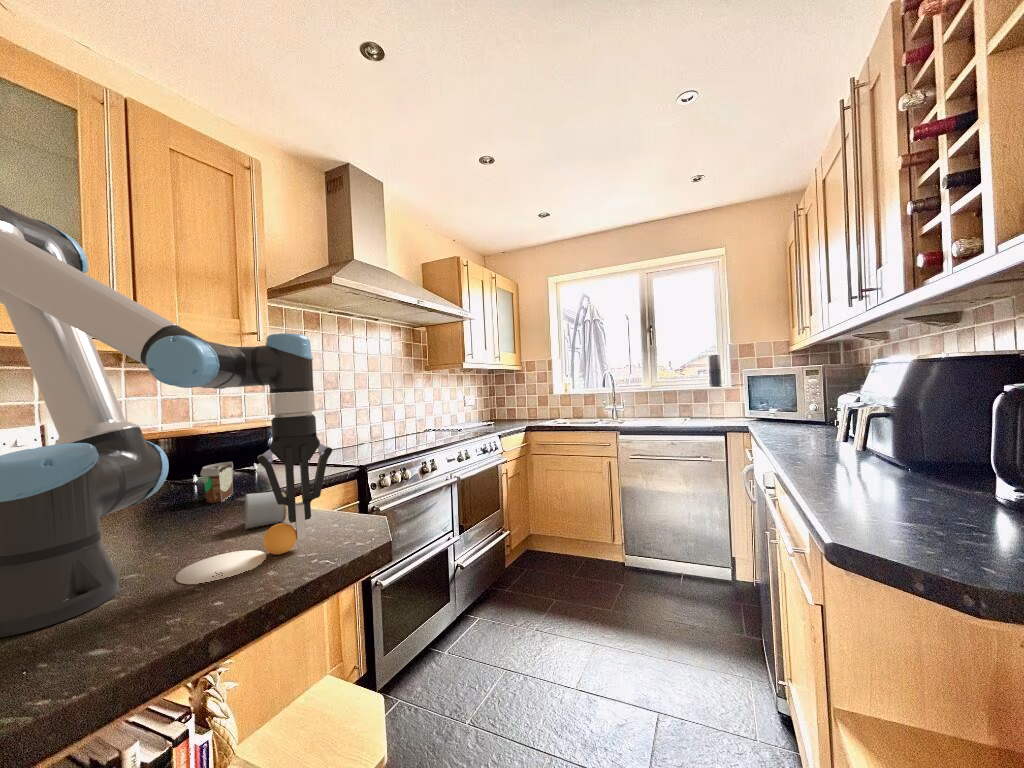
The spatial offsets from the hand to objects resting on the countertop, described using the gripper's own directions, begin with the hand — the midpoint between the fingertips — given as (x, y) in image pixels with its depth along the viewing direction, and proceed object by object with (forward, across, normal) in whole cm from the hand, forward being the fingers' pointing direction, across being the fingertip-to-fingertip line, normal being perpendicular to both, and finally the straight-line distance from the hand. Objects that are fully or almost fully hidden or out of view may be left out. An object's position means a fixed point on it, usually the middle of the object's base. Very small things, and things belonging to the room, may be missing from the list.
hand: (301, 537), depth 79 cm
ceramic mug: (+2, +5, -24) cm, 24 cm away
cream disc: (+2, +12, 0) cm, 13 cm away
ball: (-1, +3, 0) cm, 3 cm away
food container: (+2, +16, -61) cm, 63 cm away
